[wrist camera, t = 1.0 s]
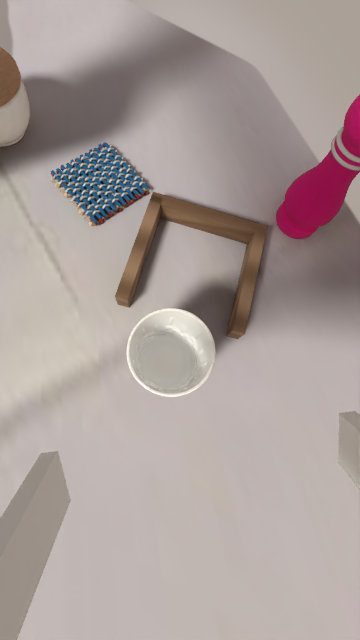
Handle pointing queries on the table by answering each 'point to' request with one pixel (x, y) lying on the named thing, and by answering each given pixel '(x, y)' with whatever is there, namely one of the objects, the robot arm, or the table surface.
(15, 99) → the lidded jar
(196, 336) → the white cup
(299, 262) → the table surface
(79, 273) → the table surface
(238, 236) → the walnut bay
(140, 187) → the woven mat
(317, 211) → the pepper mill
